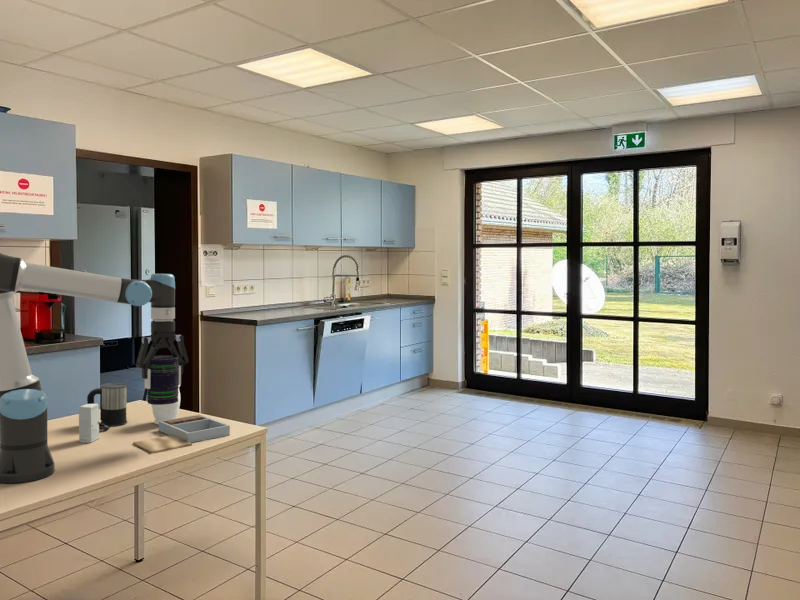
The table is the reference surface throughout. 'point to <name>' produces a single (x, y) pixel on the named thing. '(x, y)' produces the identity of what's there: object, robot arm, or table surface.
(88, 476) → the table surface
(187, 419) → the block
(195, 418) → the block
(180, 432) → the tray
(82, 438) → the skincare box
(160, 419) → the jar
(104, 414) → the milk frother
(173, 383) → the rusty oil drum
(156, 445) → the mat
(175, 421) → the block
